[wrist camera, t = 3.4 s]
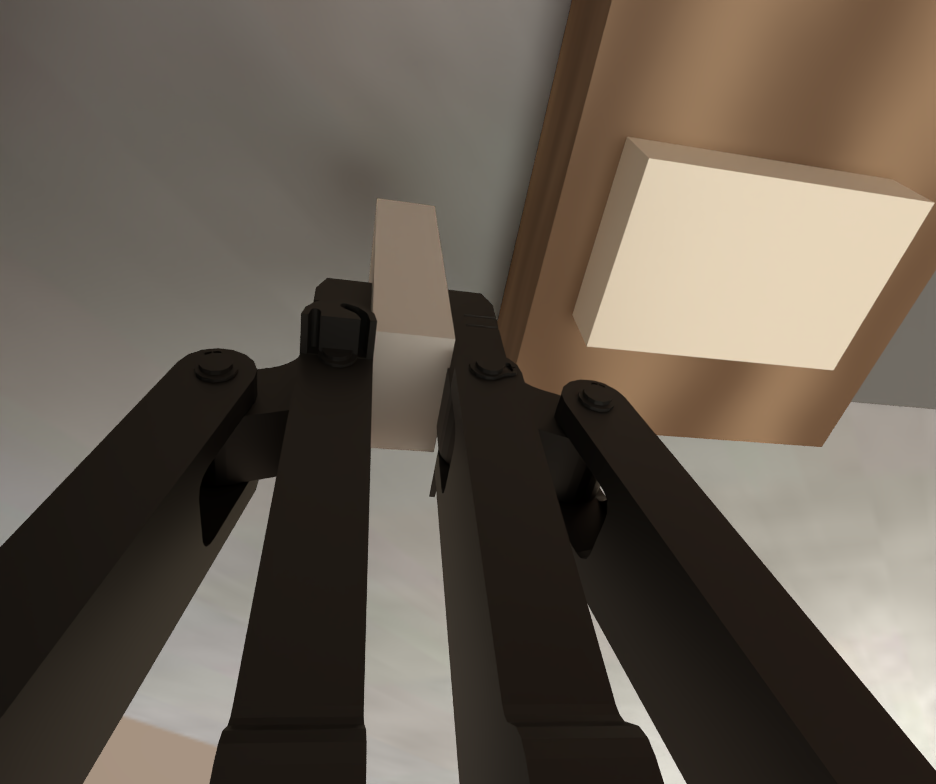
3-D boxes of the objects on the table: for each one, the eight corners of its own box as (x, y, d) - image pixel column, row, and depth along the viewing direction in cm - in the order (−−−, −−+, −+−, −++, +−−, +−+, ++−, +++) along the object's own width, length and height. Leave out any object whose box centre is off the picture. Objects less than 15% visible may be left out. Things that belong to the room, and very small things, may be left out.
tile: (572, 314, 23) (586, 346, 21) (626, 136, 19) (649, 157, 18) (803, 339, 24) (833, 370, 23) (892, 179, 21) (934, 202, 19)
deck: (487, 364, 28) (500, 423, 25) (592, -87, 19) (633, -83, 16) (776, 390, 31) (821, 447, 28) (991, 4, 22) (1095, 22, 19)
